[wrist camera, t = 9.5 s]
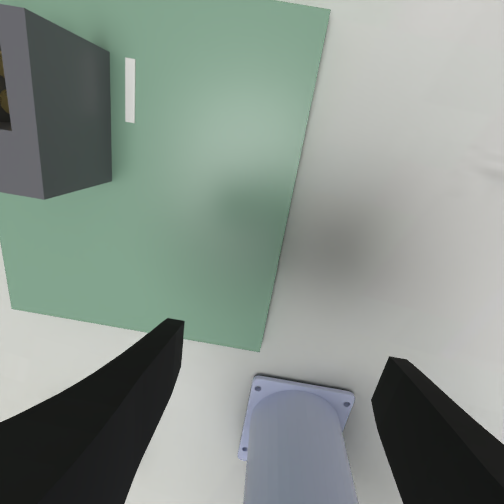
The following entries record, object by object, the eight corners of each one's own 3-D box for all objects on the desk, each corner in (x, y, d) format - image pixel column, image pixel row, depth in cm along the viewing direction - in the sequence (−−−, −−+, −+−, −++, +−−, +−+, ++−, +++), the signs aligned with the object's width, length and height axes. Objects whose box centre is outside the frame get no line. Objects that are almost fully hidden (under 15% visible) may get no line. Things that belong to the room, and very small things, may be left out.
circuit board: (260, 341, 22) (259, 353, 21) (24, 300, 22) (10, 309, 21) (326, 19, 15) (331, 8, 14) (-26, -39, 15) (-52, -55, 14)
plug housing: (112, 181, 17) (44, 199, 12) (28, 166, 17) (-75, 179, 12) (109, 51, 15) (24, 7, 10) (12, 35, 15) (-123, -17, 10)
